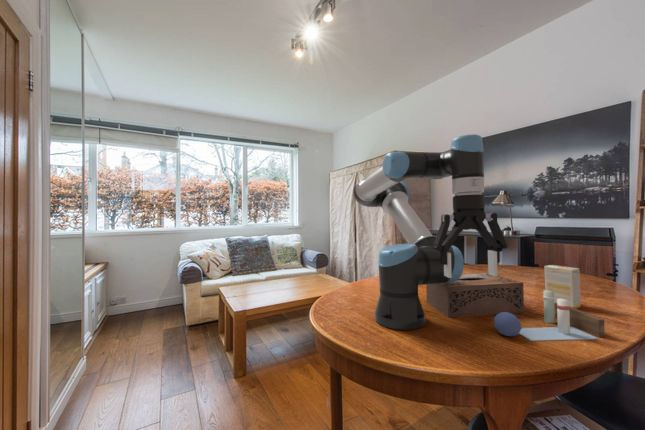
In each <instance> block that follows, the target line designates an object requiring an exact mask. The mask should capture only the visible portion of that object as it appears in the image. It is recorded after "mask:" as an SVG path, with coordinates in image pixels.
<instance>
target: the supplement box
mask: <svg viewBox="0 0 645 430" xmlns="http://www.w3.org/2000/svg"><path fill="white" fill-rule="evenodd" d="M543 269H544V283H545V284H544V288H545V289H544V290H548V291H553V292H554V305H555V303H557V299H566V300H569V306H570V307H572V308H575V309H579V308H581V307H582V297H581V294H582V293H581V274H580V273H581V272H580V268H577V267H572V266H563V265H556V264H549V265H548V264H547V265H544V268H543Z"/></svg>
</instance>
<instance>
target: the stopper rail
mask: <svg viewBox="0 0 645 430" xmlns="http://www.w3.org/2000/svg"><path fill="white" fill-rule="evenodd" d="M554 310H555V319H557V320H558V316H557V303H555V304H554ZM569 313H570V326H572V327H573V326H574V327H575V326H576V327H575V328H577V327H578V328H577V329H579V330H581V331H583V332H585V333H587V334H590V335H592V336H594V337H596V338H605V337H606V336H605V335H606V333H605V332H606V331H605V327H606V326H605V319H603V318H601V317H598V316H595V315H593V314H591V313H588V312H585V311H583V310H580V309H579V308H576V309H575V308H572V307H570V310H569Z"/></svg>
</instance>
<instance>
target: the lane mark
mask: <svg viewBox="0 0 645 430" xmlns="http://www.w3.org/2000/svg"><path fill="white" fill-rule="evenodd" d="M518 335H520V336H522V337H524V338H525V339H527V340H528V341H530V342H543V341H545V342H547V341H549V342H550V341H578V340H579V341H580V340H582V341H583V340H584V341H585V340H599V337H597V336H595V335H593V334H590V333H588V332H586V331H584V330H582V329H580V328H577V327H575V326H574V327H573V326H570V335H564V334H561V333H559V332H558V326H554V327H553V326H550V327H544V326H543V327H521V330H520V332H519V333H518Z"/></svg>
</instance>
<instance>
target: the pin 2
mask: <svg viewBox="0 0 645 430" xmlns="http://www.w3.org/2000/svg"><path fill="white" fill-rule="evenodd" d="M569 310H570V306H569V300H566V299H557V316H558V319H557V327H558V332H559V333H561V334H564V335H570V327H571V324H570V313H569Z"/></svg>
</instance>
